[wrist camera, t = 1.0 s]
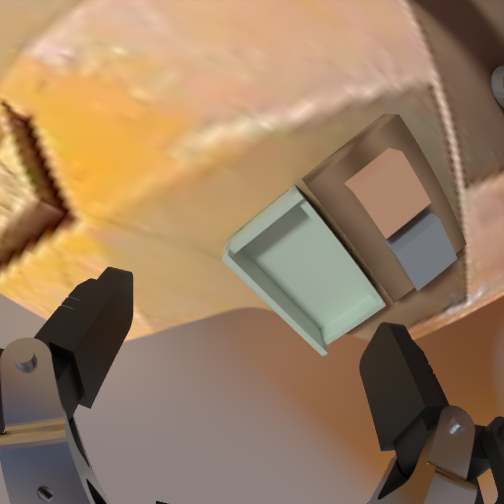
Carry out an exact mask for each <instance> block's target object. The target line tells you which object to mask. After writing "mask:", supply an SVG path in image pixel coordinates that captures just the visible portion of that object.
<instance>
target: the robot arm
mask: <svg viewBox="0 0 504 504" xmlns="http://www.w3.org/2000/svg"><path fill="white" fill-rule="evenodd" d="M132 319H133V274H132V272H129V271H125V270H121V269H117V268H113V267H107V268H106V270H105V271H104V272H103V273H102V274H101V275H100V277H99V278H98V279H97V280H96V279H92V278H90V279H88V280H87V281H85V282H83V283H81V284H79V285H77V286H76V288H75V289H74V290H73V291H72V292H71V293H70V294H69V297H68V298H66V299H65V300H64V301H63V303H62V304H61V306H59V307H58V308H57V310H56V311H55V312H54V313H53V314H52V316H51V317H50V318H49V319H48V321H47V322H46V323H45V324H44V325H43V327H42V328H41V329H40V331H39V332H38V333H37V334H36V336H35V337H34V338H21V339H17V340H15V341H13V342H11V343H10V344H9V345H8V346H7V347H6V348H5V349H0V462H1V467H2V472H3V476H4V480H5V485H6V488H7V492H8V496H9V500H10V503H11V504H109V501H108V499H107V498H106V495H105V493H104V491H103V489H102V487H101V485H100V483H99V481H98V480H97V477H96V475H95V473H94V471H93V469H92V466H91V464H90V461H89V459H88V456H87V453H86V450H85V448H84V445H83V442H82V439H81V436H80V433H79V430H78V427H77V424H76V420H75V417H74V412H75V410H76V408H77V406H78V404H80V405H82V406H85V407H87V408H91V407H92V404H93V402H94V400H95V398H96V396H97V394H98V392H99V389H100V387H101V385H102V383H103V381H104V379H105V377H106V375H107V373H108V371H109V369H110V367H111V365H112V363H113V361H114V359H115V357H116V355H117V353H118V351H119V349H120V347H121V345H122V343H123V341H124V339H125V337H126V336H127V334H128V332H129V330H130V327H131V324H132ZM359 368H360V375H361V378H362V381H363V385H364V388H365V392H366V395H367V399H368V403H369V406H370V410H371V413H372V417H373V421H374V425H375V429H376V433H377V436H378V440H379V444H380V449H381V451H388V450H395V451H396V455H395V456H394V457H393V458H392V459H391V461H390V463H389V465H388V467H387V469H386V471H385V473H384V475H383V477H382V479H381V481H380V483H379V485H378V486H377V488H376V490H375V492H374V494H373V496H372V497H371V499H370V501H369V502H368V503H367V504H484V502H483V498H482V494H481V490H480V487H479V483H478V480H477V477H479V476H480V475H481V474H483V473H484V472H485V471H487V470H488V469H489V468H491V471H492V474H493V477H494V480H495V484H496V487H497V491H498V498H497V501H496V503H495V504H504V417H501V416H500V417H496V418H495V419H494V420H493V421H492V422H491V423H490V424H489V425H488V426H487V427H485V426H480V425H475V424H474V422H473V420H472V418H471V416H470V415H469V414H468V413H467V412H466V411H465V410H464V409H462V408H460V407H458V406H452V405H451V406H450V405H449V403H448V401H447V399H446V397H445V394H444V392H443V390H442V388H441V386H440V384H439V382H438V380H437V378H436V376H435V374H433V370H432V368H431V366H430V365H429V364H428V360H427V358H426V356H425V355H424V352H423V351H422V350H421V349H420V348H419V346H418V345H416V343H415V342H414V341H413V340H412V338H411V336H410V334H409V333H408V331H407V329H406V327H405V326H404V325H401V324H393V323H386V322H383V323H381V324H380V325H379V327H378V329H377V330H376V332H375V334H374V336H373V338H372V339H371V341H370V343H369V345H368V346H367V348H366V350H365V351H364V353H363V355H362V357H361V360H360V367H359ZM4 430H5V432H4ZM3 432H4V433H3ZM156 504H167V503H163V502H159V501H156Z"/></svg>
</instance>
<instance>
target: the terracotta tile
mask: <svg viewBox="0 0 504 504" xmlns="http://www.w3.org/2000/svg"><path fill="white" fill-rule="evenodd" d="M344 184H345V186H346V187H347V188H348V190H349V191H350V193H351V194H352V195H353V197H354V198H355V199H356V201H357V202H358V204H359V205H360V206H361V208H362V209H363V211H364V212H365V214H366V215H367V216H368V218H369V219H370V221H371V222H372V224H373V225H374V227H375V228H376V229H377V230H378V231H379V232H380V234H381V235H382V236H383V237H384V238H385V239H387V238H388V237H390V236H391V235H392V234H393V233H395V232H396V231H397V230H399V229H400V228H401V227H402V226H403V225H405V224H406V223H407V222H408V221H410V220H411V219H412V218H413V217H415V216H416V215H417V214H418V213H419V212H421V211H422V210H423V209H424V208H425V207H427V206H428V205H429V204H430V203H431V201H430V199H429V197H428V195H427V194H426V192H425V190H424V188H423V186H422V184H421V183H420V181H419V179H418V177H417V176H416V174H415V172H414V170H413V169H412V167H411V165H410V164H409V162H408V160H407V159H406V157H405V155H404V154H403V152H402V151H399V150H395V149H392V148H388V149H387V150H386V151H384V152H383V153H382V154H381V155H379V156H378V157H377V158H376V159H374V160H373V161H372V162H370V163H369V164H368V165H367V166H365V167H364V168H363V169H362V170H360V171H359V172H358V173H357V174H355V175H354V176H353V177H352V178H350V179H349V180H348V181H347V182H345V183H344Z"/></svg>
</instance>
